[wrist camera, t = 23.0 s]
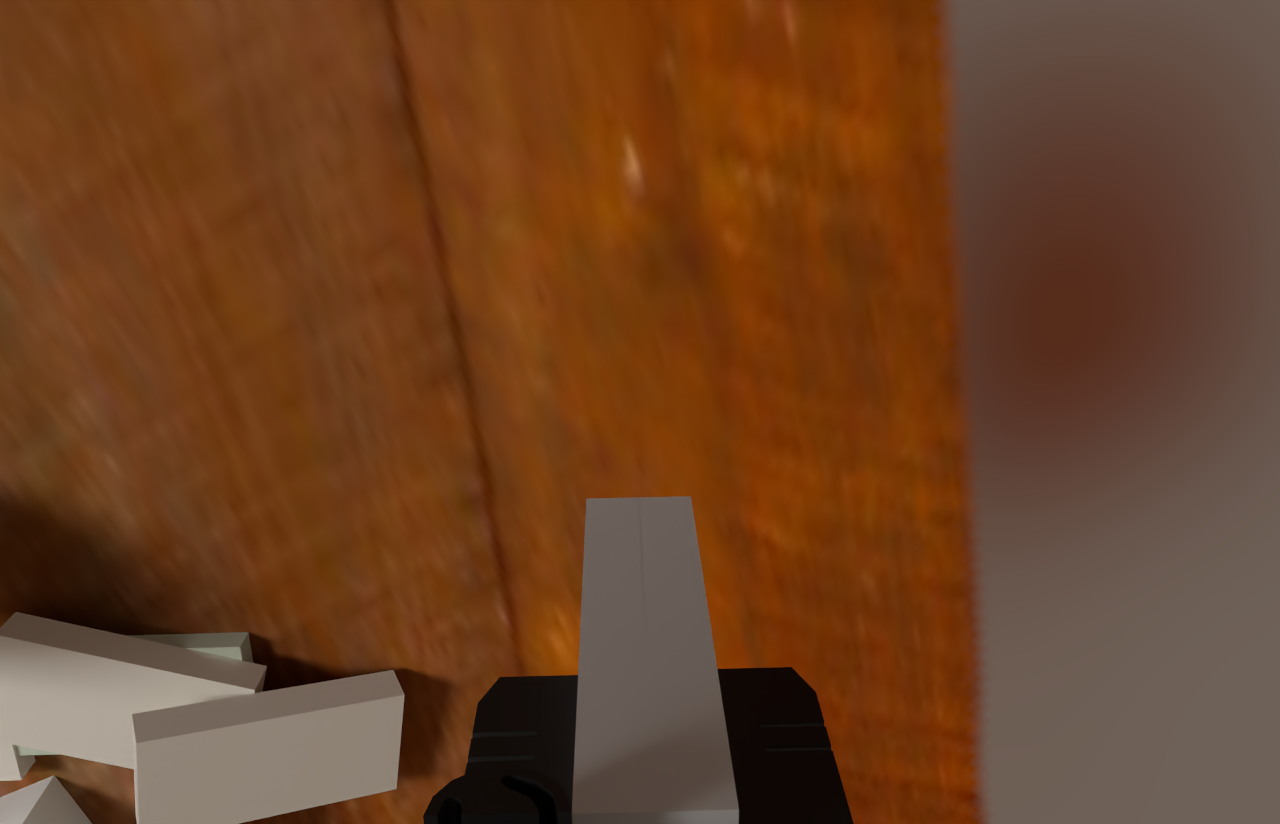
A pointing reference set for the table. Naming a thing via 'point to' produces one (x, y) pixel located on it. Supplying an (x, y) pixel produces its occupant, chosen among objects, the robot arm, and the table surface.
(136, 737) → the domino
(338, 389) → the table surface
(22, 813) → the milk
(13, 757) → the domino
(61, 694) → the domino
